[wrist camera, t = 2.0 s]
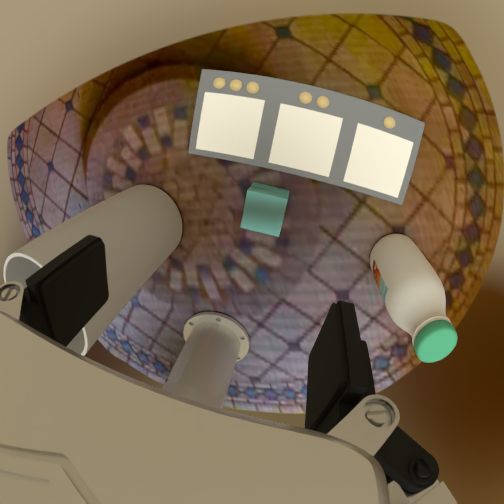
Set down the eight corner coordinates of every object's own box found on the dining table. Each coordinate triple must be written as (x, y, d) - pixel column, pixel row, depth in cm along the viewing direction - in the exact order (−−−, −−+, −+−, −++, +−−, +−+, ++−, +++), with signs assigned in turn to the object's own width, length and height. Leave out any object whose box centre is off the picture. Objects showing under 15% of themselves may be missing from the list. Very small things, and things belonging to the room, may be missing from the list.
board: (399, 202, 37) (402, 206, 35) (191, 152, 39) (187, 153, 37) (421, 122, 31) (425, 123, 30) (205, 70, 33) (201, 68, 32)
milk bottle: (371, 231, 39) (413, 318, 21) (418, 232, 38) (481, 312, 20) (366, 278, 42) (394, 377, 25) (411, 277, 41) (456, 370, 23)
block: (281, 223, 41) (279, 236, 37) (247, 215, 41) (240, 227, 37) (289, 190, 39) (288, 199, 34) (254, 181, 39) (247, 190, 35)
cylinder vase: (167, 269, 48) (84, 376, 26) (110, 232, 47) (8, 312, 25) (197, 208, 42) (94, 306, 20) (130, 169, 41) (1, 229, 19)
